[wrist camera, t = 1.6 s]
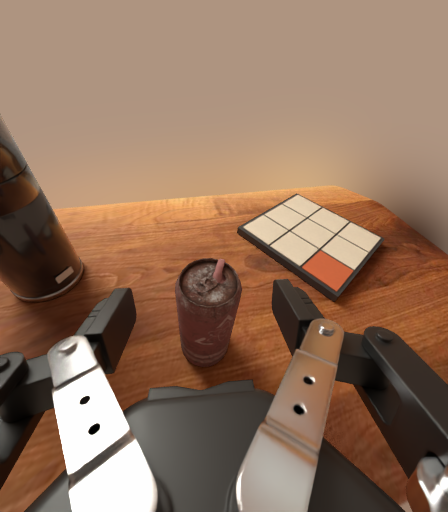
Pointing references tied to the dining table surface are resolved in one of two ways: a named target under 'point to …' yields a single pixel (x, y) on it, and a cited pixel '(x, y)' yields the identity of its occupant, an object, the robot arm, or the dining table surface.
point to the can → (206, 309)
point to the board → (312, 243)
